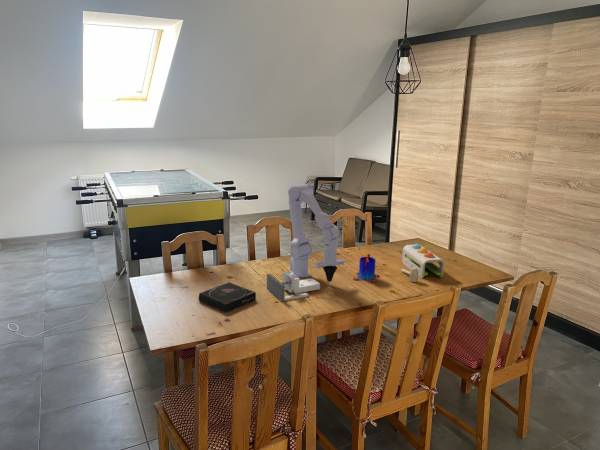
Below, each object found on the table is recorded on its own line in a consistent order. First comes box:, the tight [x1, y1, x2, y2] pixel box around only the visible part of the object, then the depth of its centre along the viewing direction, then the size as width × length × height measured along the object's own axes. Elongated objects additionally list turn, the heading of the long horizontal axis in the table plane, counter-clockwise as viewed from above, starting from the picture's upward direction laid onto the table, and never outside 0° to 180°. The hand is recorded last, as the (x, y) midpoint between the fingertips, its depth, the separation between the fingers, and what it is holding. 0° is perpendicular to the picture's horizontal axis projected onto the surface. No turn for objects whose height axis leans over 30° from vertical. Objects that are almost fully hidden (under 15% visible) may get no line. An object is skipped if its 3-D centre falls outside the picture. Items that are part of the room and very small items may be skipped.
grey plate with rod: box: [266, 273, 309, 302], centre depth 201 cm, size 15×13×7 cm
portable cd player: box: [198, 281, 257, 314], centre depth 192 cm, size 16×17×4 cm
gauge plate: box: [281, 271, 297, 295], centre depth 199 cm, size 12×3×7 cm, turn 28°
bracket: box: [289, 273, 321, 294], centre depth 204 cm, size 13×7×8 cm, turn 118°
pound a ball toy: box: [400, 243, 445, 283], centre depth 230 cm, size 28×18×12 cm, turn 11°
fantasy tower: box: [352, 253, 381, 284], centre depth 220 cm, size 12×12×12 cm
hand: (329, 280), depth 211 cm, fingers closed
